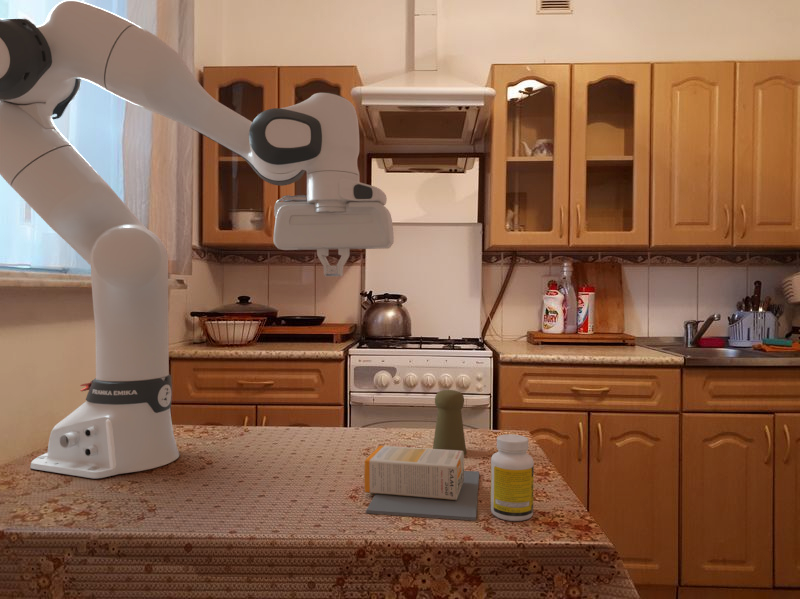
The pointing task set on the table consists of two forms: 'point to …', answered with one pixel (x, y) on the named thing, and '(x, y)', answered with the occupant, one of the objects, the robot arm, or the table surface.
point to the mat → (431, 503)
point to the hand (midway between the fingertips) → (333, 276)
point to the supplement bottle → (512, 479)
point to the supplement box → (414, 472)
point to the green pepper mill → (449, 421)
